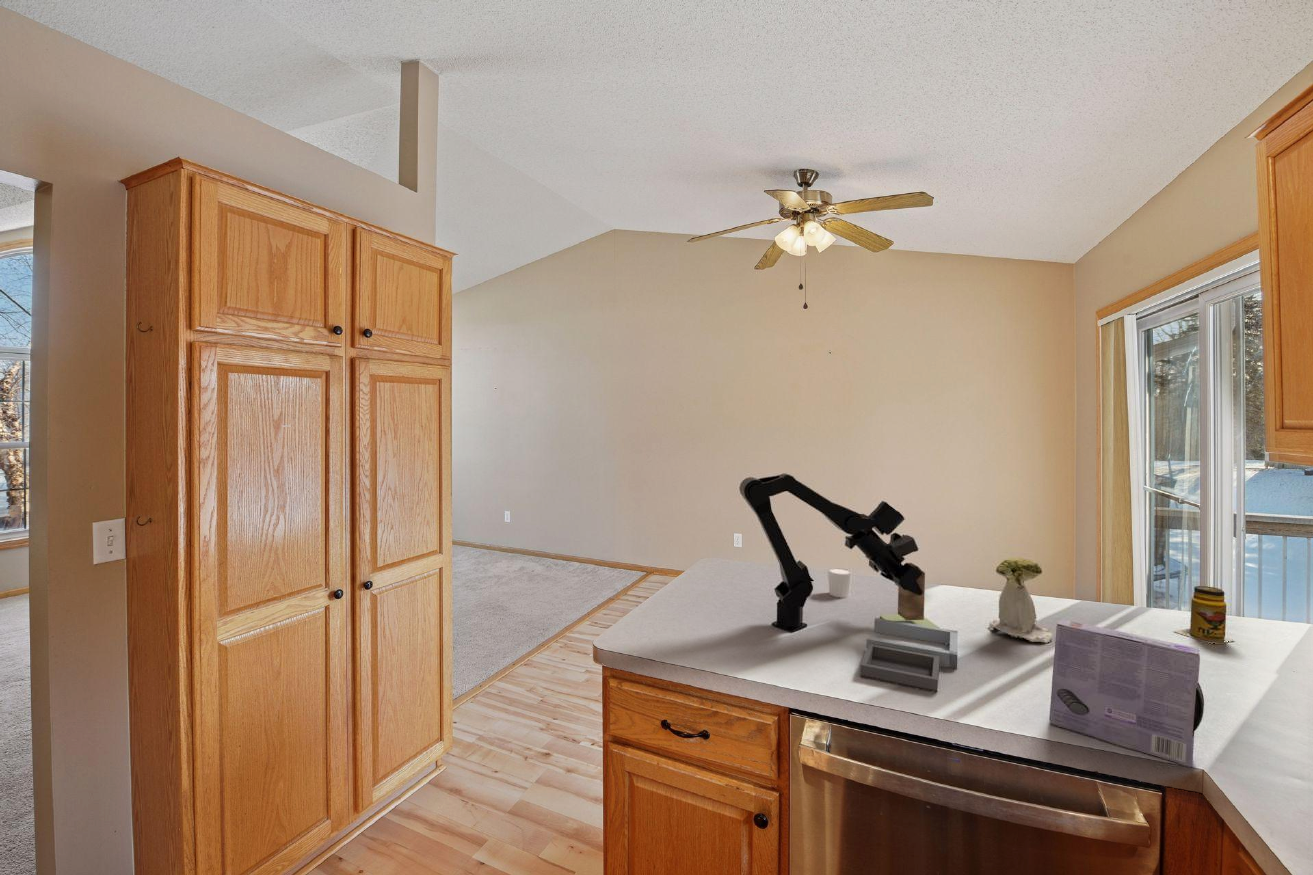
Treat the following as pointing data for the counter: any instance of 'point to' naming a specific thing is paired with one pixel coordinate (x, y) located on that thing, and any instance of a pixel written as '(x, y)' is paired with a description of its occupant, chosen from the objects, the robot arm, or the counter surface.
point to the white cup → (839, 582)
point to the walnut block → (912, 602)
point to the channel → (918, 633)
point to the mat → (901, 619)
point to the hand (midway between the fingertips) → (916, 591)
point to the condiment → (1207, 616)
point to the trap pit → (901, 667)
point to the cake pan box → (1127, 690)
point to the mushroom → (1018, 601)
